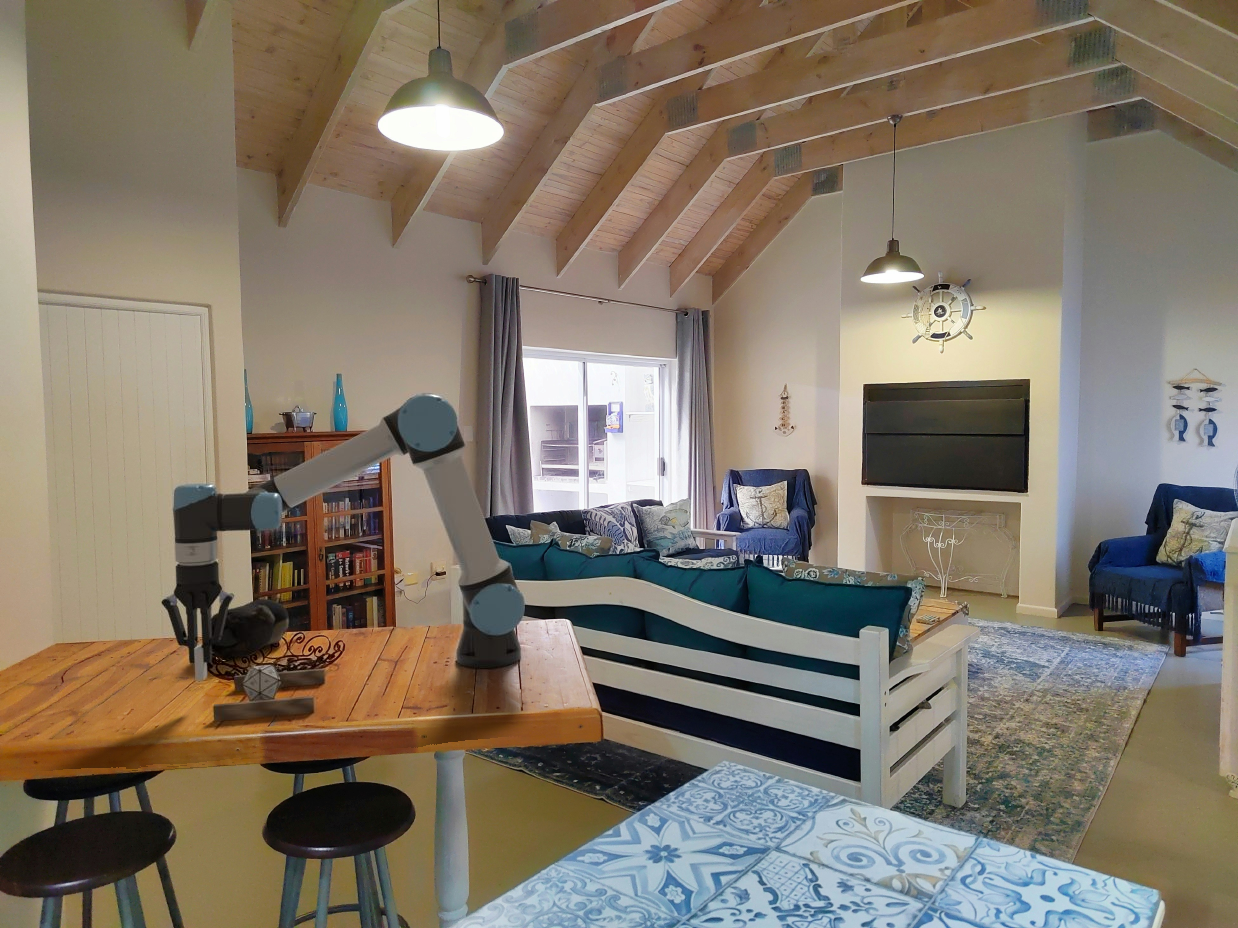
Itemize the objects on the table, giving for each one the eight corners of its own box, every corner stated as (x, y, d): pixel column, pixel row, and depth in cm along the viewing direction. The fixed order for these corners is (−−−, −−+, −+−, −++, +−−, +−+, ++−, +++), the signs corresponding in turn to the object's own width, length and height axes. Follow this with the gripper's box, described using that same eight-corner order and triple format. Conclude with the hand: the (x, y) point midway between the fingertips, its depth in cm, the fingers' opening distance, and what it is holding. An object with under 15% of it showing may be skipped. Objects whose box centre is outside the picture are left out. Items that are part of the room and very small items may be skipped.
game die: (266, 721, 161) (261, 693, 155) (232, 704, 162) (225, 676, 156) (295, 688, 168) (291, 660, 161) (261, 672, 169) (257, 644, 163)
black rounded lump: (201, 683, 189) (175, 634, 188) (255, 652, 209) (231, 607, 209) (266, 651, 185) (240, 600, 184) (315, 622, 205) (291, 577, 205)
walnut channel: (325, 681, 173) (324, 668, 173) (313, 712, 156) (313, 697, 156) (235, 689, 169) (235, 675, 169) (213, 721, 152) (213, 706, 152)
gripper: (154, 567, 152) (159, 687, 154) (228, 563, 155) (232, 681, 157) (166, 559, 160) (171, 674, 161) (237, 557, 163) (240, 669, 164)
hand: (201, 677), depth 159 cm, fingers closed
